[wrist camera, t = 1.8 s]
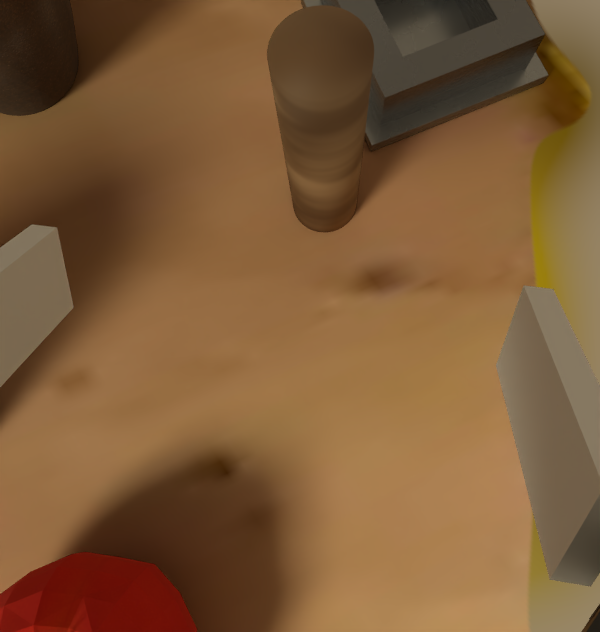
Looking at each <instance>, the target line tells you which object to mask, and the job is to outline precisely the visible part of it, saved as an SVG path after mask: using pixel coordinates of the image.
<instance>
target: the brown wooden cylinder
mask: <svg viewBox="0 0 600 632" xmlns="http://www.w3.org/2000/svg"><path fill="white" fill-rule="evenodd" d="M267 59H268V65H269V71H270V76H271V82H272V88H273V93H274V99H275V105H276V111H277V116H278V122H279V128H280V133H281V139H282V145H283V150H284V156H285V162H286V167H287V173H288V179H289V184H290V190H291V196H292V201H293V207H294V211H295V214H296V216H297V218H298V219H299V221H300V222H301V223H302V224H303V225H304V226H306V227H307V228H309V229H311V230H314V231H317V232H331V231H335V230H338V229H340V228H342V227H343V226H345V225H346V224H347V223H348V222H349V221H350V220H351V218H352V217H353V215H354V213H355V210H356V206H357V197H358V189H359V180H360V172H361V163H362V154H363V146H364V137H365V129H366V120H367V112H368V103H369V95H370V86H371V78H372V69H373V61H374V43H373V39H372V36H371V34H370V32H369V30H368V28H367V27H366V25H365V24H364V23H363V22H362V21H361V20H360V19H359V18H358V17H357V16H355V15H354V14H352V13H351V12H349V11H347V10H344V9H342V8H338V7H335V6H328V5H319V6H311V7H307V8H304V9H301V10H298V11H296V12H294V13H292V14H291V15H289V16H288V17H287V18H285V19H284V20H283V21H282V22H281V23H280V24H279V25H278V26H277V28H276V29H275V30H274V32H273V34H272V36H271V38H270V41H269V45H268V51H267Z"/></svg>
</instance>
